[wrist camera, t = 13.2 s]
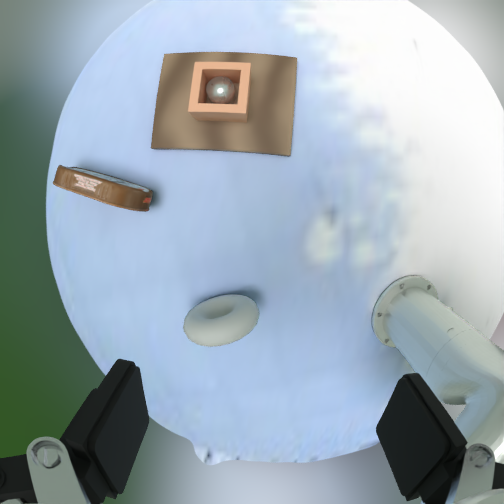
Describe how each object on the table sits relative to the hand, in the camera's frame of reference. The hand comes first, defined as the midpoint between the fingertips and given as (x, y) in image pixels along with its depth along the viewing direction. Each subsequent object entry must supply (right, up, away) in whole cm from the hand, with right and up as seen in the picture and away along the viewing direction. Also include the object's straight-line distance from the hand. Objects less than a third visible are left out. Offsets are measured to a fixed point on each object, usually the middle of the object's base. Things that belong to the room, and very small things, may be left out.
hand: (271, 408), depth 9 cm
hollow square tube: (-4, +25, +23) cm, 34 cm away
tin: (-20, +15, +28) cm, 38 cm away
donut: (-5, -2, +32) cm, 32 cm away
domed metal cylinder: (-4, +25, +23) cm, 34 cm away
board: (-4, +25, +25) cm, 36 cm away
